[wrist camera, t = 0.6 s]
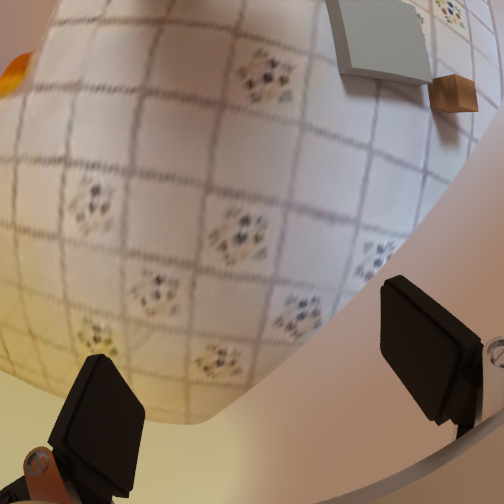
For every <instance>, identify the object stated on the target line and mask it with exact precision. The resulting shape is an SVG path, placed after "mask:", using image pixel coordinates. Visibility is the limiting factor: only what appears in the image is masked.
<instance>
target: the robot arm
mask: <svg viewBox="0 0 504 504" xmlns="http://www.w3.org/2000/svg"><path fill="white" fill-rule="evenodd" d="M380 293H381V335H380V337H381V339H380V350H381V353H382V355H383V357H384V358H385V360H386V361H387V362H388V364H389V365H390V366H391V368H392V369H393V370H394V372H395V373H396V374H397V376H398V377H399V379H400V380H401V381H402V383H403V384H404V385H405V387H406V388H407V390H408V391H409V393H410V394H411V395H412V397H413V398H414V400H415V401H416V402H417V404H418V405H419V407H420V408H421V410H422V411H423V412H424V414H425V415H426V417H427V418H428V419H429V420H430V421H433V420H434V421H435V422H436V424H437V425H438V426H439V425H441V424H443V423H444V422H446V421H447V420H449V419H451V421H452V422H453V423H454V431H453V437H452V442H451V443H450V444H449V445H447V446H445V447H444V448H442V449H440V450H439V451H437V452H435V453H434V454H432V455H430V456H428V457H426V458H425V459H423V460H421V461H419V462H417V463H415V464H414V465H412V466H410V467H408V468H406V469H404V470H402V471H400V472H398V473H396V474H393V475H391V476H389V477H387V478H385V479H383V480H380V481H378V482H375V483H373V484H370V485H368V486H365V487H363V488H360V489H358V490H355V491H352V492H350V493H347V494H344V495H341V496H338V497H335V498H332V499H328V500H325V501H321V502H318V503H314V504H504V336H498V337H494V338H492V339H490V340H489V341H488V342H487V343H485V345H483V344H482V343H481V342H480V341H481V339H480V338H479V337H478V336H477V335H476V334H475V333H473V332H472V331H471V330H470V329H469V328H468V327H466V326H465V325H464V324H463V323H462V322H461V321H459V320H458V319H457V318H456V317H455V316H453V315H452V314H451V313H449V311H447V310H446V309H445V308H444V307H442V306H441V305H440V304H439V303H437V302H436V301H435V300H433V299H432V298H431V297H430V296H428V295H427V294H426V293H424V292H423V291H422V290H421V289H419V288H418V287H417V286H416V285H414V284H413V283H412V282H410V281H409V280H408V279H406V278H405V277H404V276H402V275H398V276H395V277H393V278H390V279H387V280H385V282H384V286H382V287H381V291H380ZM144 420H145V410H144V407H143V406H142V404H141V403H140V402H139V400H138V399H137V397H136V396H135V395H134V393H133V392H132V390H131V389H130V388H129V386H128V385H127V383H126V382H125V380H124V379H123V377H122V376H121V374H120V373H119V371H118V370H117V368H116V367H115V365H114V364H113V362H112V360H111V359H110V358H109V357H106V356H105V355H104V354H97V355H90V356H88V357H87V358H86V360H85V362H84V364H83V366H82V368H81V370H80V372H79V374H78V376H77V378H76V380H75V382H74V384H73V386H72V388H71V390H70V392H69V394H68V396H67V398H66V401H65V403H64V405H63V407H62V409H61V412H60V414H59V416H58V419H57V420H56V423H55V425H54V428H53V430H52V432H51V435H50V437H49V439H48V443H49V444H50V445H51V446H52V447H53V450H52V451H51V450H49V449H48V448H47V447H37V448H34V449H33V450H32V451H30V452H29V454H28V455H27V456H26V458H25V460H24V464H23V470H24V476H22V477H20V478H19V479H17V480H16V481H14V482H13V483H11V484H9V485H8V486H6V487H5V488H3V489H2V490H1V491H0V504H114V502H113V501H112V496H113V495H114V496H115V497H121V498H129V492H130V491H131V490H132V489H133V484H134V478H135V470H136V464H137V459H138V453H139V447H140V441H141V436H142V430H143V425H144Z"/></svg>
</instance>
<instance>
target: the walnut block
mask: <svg viewBox="0 0 504 504" xmlns="http://www.w3.org/2000/svg"><path fill="white" fill-rule="evenodd" d="M432 81H433V83H429V84H427V85H428V92H429V100H430V108H431V109H434V110H439V111H444V112H448V113H459V112H478V104H477V97H476V90H475V84H474V81H471V80H469V79H466V78H463V77H461V76H458V75H455V74H454V75H449V76H444V77H439V78H435V79H432Z"/></svg>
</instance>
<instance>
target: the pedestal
mask: <svg viewBox="0 0 504 504" xmlns="http://www.w3.org/2000/svg"><path fill="white" fill-rule="evenodd" d="M326 4H327V8H328V13H329V18H330V22H331V27H332V32H333V38H334V43H335V49H336V55H337V61H338V67H339V74H340V75H351V76H360V77H368V78H375V79H382V80H388V81H394V82H399V83H404V84H409V85H414V86H420V85H425V84H429V83H433V81H432V75H431V69H430V64H429V59H428V55H427V50H426V46H425V41H424V37H423V34H422V30H421V26H420V23H419V19H418V16H417V13H416V9H415V6H413V5H410V4H407V3H404V2H401V1H398V0H326Z"/></svg>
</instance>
